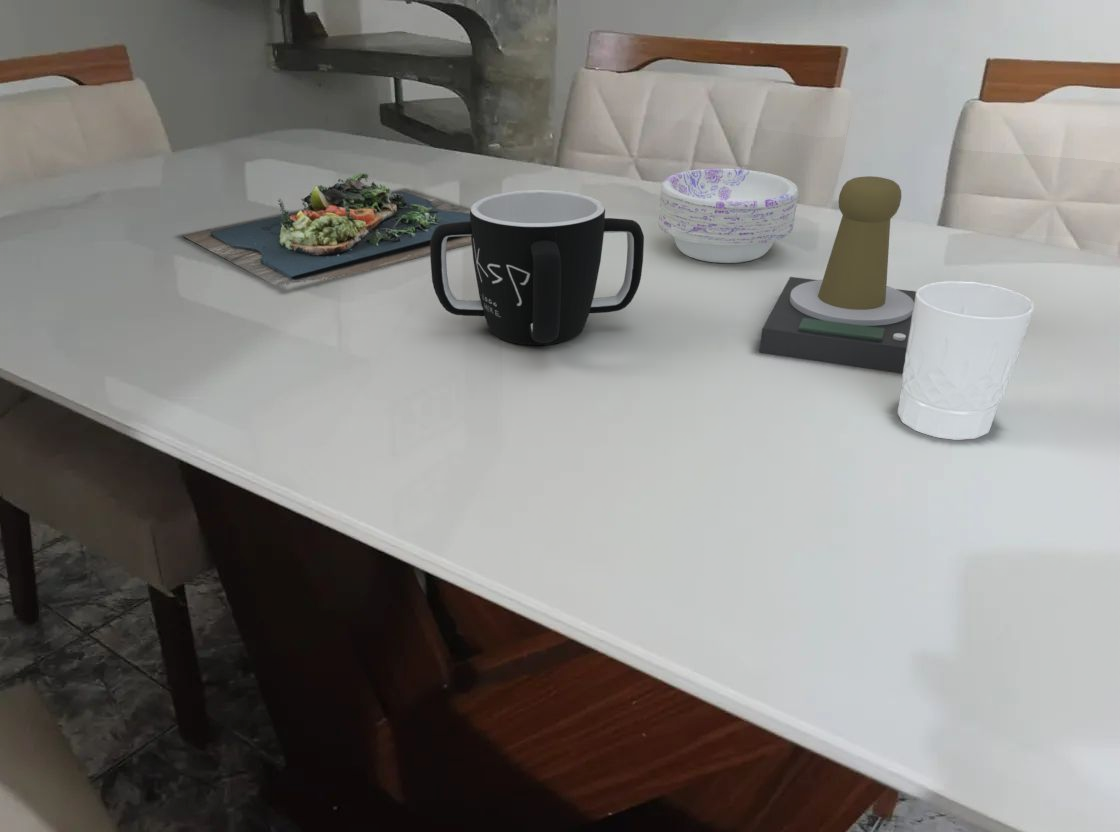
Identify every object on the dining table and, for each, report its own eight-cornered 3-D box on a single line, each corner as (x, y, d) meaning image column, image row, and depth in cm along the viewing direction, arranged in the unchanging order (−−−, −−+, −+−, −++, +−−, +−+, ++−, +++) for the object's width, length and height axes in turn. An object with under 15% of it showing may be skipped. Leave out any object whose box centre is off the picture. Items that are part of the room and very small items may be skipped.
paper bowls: (733, 282, 104) (742, 208, 100) (629, 250, 114) (633, 182, 110) (816, 252, 112) (827, 183, 108) (711, 225, 122) (718, 161, 118)
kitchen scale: (786, 299, 99) (790, 270, 98) (922, 315, 94) (929, 286, 93) (758, 353, 87) (763, 321, 86) (912, 375, 83) (920, 342, 81)
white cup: (871, 421, 76) (897, 299, 70) (916, 390, 80) (943, 273, 75) (974, 455, 71) (1009, 327, 66) (1015, 419, 75) (1051, 297, 70)
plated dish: (289, 293, 104) (281, 225, 100) (178, 240, 123) (168, 181, 119) (531, 231, 123) (531, 172, 119) (402, 194, 142) (399, 142, 138)
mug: (419, 328, 94) (412, 205, 88) (539, 290, 103) (540, 175, 97) (532, 380, 83) (533, 243, 77) (655, 332, 92) (665, 206, 86)
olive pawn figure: (819, 307, 89) (839, 185, 83) (816, 285, 94) (835, 169, 88) (889, 311, 87) (914, 188, 82) (882, 289, 92) (905, 172, 87)
